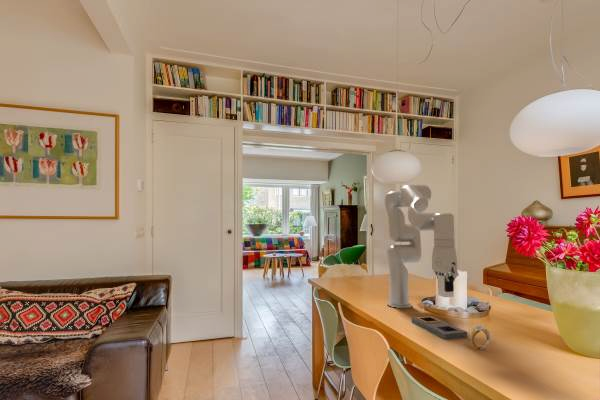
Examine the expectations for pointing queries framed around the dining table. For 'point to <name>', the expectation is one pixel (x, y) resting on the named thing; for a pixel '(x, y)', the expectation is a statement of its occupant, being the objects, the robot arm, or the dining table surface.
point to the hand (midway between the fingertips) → (445, 289)
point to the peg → (443, 287)
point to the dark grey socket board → (439, 327)
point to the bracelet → (476, 333)
